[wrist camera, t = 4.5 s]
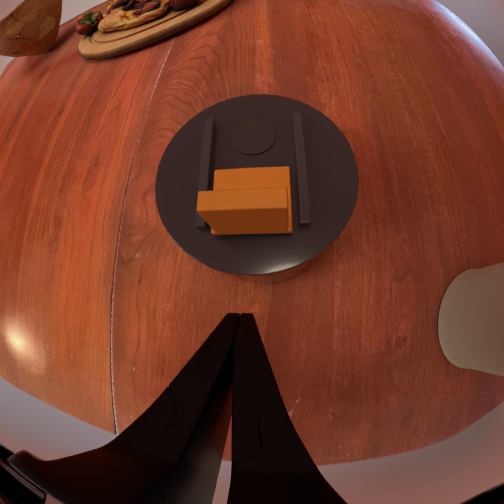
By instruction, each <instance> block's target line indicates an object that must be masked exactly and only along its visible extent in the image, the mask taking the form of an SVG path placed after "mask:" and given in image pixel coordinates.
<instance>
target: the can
mask: <svg viewBox="0 0 504 504" xmlns="http://www.w3.org/2000/svg"><path fill="white" fill-rule="evenodd" d="M438 336H439V341H440V345H441V348H442V351H443V353H444V355H445V356H446V358H447V359H448V360H449V361H450V362H451V363H452V364H453V365H455V366H457V367H459V368H465V369H467V368H469V369H474V370H478V371H482V372H486V373H490V374H494V375H498V376H502V377H504V262H502V263H498V264H495V265H492V266H488V267H484V268H480V269H470V270H466V271H464V272H462V273H461V274H459V275H458V276H457V277H456V278H455V279H454V280H453V281H452V282H451V284H450V285H449V287H448V288H447V290H446V292H445V294H444V297H443V300H442V302H441V306H440V310H439V317H438Z"/></svg>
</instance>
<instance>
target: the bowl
mask: <svg viewBox="0 0 504 504" xmlns="http://www.w3.org/2000/svg"><path fill="white" fill-rule="evenodd" d="M61 13H62V0H25V1H23V2H22V3H21V4H19V5H18V6H17V7H16V8H15V9H14V10H13V11H12V12H11V13H10V14H9V15H7V16H6V17H5V18H3V19H2V20H1V21H0V55H3V56H10V57H20V56H35V55H41V54H45V53H47V52H49V51H50V50H51V48H52V47H53V45H54V43H55V41H56V38H57V35H58V31H59V25H60V20H61ZM17 36H19V37H17Z"/></svg>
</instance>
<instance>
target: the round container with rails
mask: <svg viewBox="0 0 504 504" xmlns="http://www.w3.org/2000/svg"><path fill="white" fill-rule="evenodd" d="M285 166H289V169H290V187H291V209H292V233H269V234H230V235H213V234H212V233H211V227H210V225H209V224H208V223H207V222H206V221H205V220H204V219H203V218H202V216H201V215H200V214H199V213H198V212H197V200H198V192H200V191H213V188H214V173H215V170H223V169H238V168H256V167H285ZM358 183H359V178H358V168H357V164H356V160H355V156H354V154H353V151H352V149H351V146H350V144H349V143H348V141H347V139H346V138H345V136H344V134H343V133H342V132H341V131H340V129H339V128H338V127H337V126H336V125H335V124H334V123H333V122H332V121H331V120H330V119H329V118H328V117H326V116H325V115H324V114H322V113H321V112H320V111H318V110H316V109H315V108H313V107H311V106H309V105H307V104H305V103H303V102H300V101H297V100H294V99H291V98H288V97H282V96H277V95H266V94H259V95H246V96H240V97H235V98H231V99H228V100H225V101H222V102H219V103H217V104H215V105H213V106H210V107H208V108H207V109H205V110H203V111H202V112H200V113H198V114H197V115H196V116H194V117H193V118H192V119H190V120H189V121H188V122H187V123H186V124H185V125H184V126H183V127H182V128H181V129H180V130H179V131H178V132H177V133H176V134H175V136H174V137H173V138H172V140H171V141H170V143H169V144H168V146H167V148H166V150H165V152H164V154H163V156H162V158H161V161H160V164H159V167H158V171H157V176H156V185H155V193H156V203H157V208H158V212H159V215H160V218H161V220H162V223H163V225H164V227H165V228H166V230H167V232H168V234H169V235H170V236H171V238H172V239H173V240H174V242H175V243H176V244H177V245H178V246H179V247H180V248H181V249H182V250H183V251H184V252H185V253H187V254H188V255H190V256H191V257H192V258H194V259H195V260H197V261H198V262H200V263H202V264H204V265H206V266H208V267H210V268H212V269H214V270H217V271H220V272H223V273H226V274H231V275H234V276H236V277H238V278H240V279H243V280H246V281H249V282H254V283H263V284H268V283H277V282H281V281H285V280H287V279H290V278H292V277H294V276H296V275H298V274H300V273H301V272H302V271H304V270H305V269H306V268H307V267H309V266H310V265H311V264H312V262H313V261H314V260H315V259H316V258H317V256H319V255H320V254H322V253H323V252H324V251H325V250H326V249H327V248H328V247H329V246H330V245H331V244H332V243H333V242H334V241H335V240H336V238H337V237H338V236H339V235H340V233H341V232H342V231H343V229H344V228H345V226H346V224H347V222H348V221H349V219H350V217H351V215H352V212H353V209H354V207H355V204H356V199H357V194H358Z"/></svg>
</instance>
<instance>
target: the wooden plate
mask: <svg viewBox="0 0 504 504" xmlns="http://www.w3.org/2000/svg"><path fill="white" fill-rule="evenodd" d="M230 1H231V0H113V2H112V4H109V5H108V7H107V10H106V11H107V12H105V13H104V14H103V15H102V13H101V12H99V11H90V12H86V13H84V14H82V15H81V16H80V17H79V18H78V19H77V24H76V31H77V33H78V34H80V35H83V36H82V38H81V40H80V42H79V46H78V49H79V53H80V55H81V56H82V57H84V58H86V59H92V60H98V59H105V58H110V57H114V56H118V55H121V54H124V53H127V52H130V51H133V50H136V49H138V48H141V47H144V46H146V45H149V44H152V43H154V42H157V41H159V40H161V39H164V38H166V37H168V36H170V35H173V34H175V33H177V32H179V31H181V30H183V29H186V28H188V27H190V26H192V25H194V24H196V23H198V22H200V21H202V20H204V19H205V18H207V17H209V16H211V15H212V14H214V13H216V12H217V11H219V10H220V9H222V8H223V7H225V6H226V5H227V4H228V3H229V2H230Z"/></svg>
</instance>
